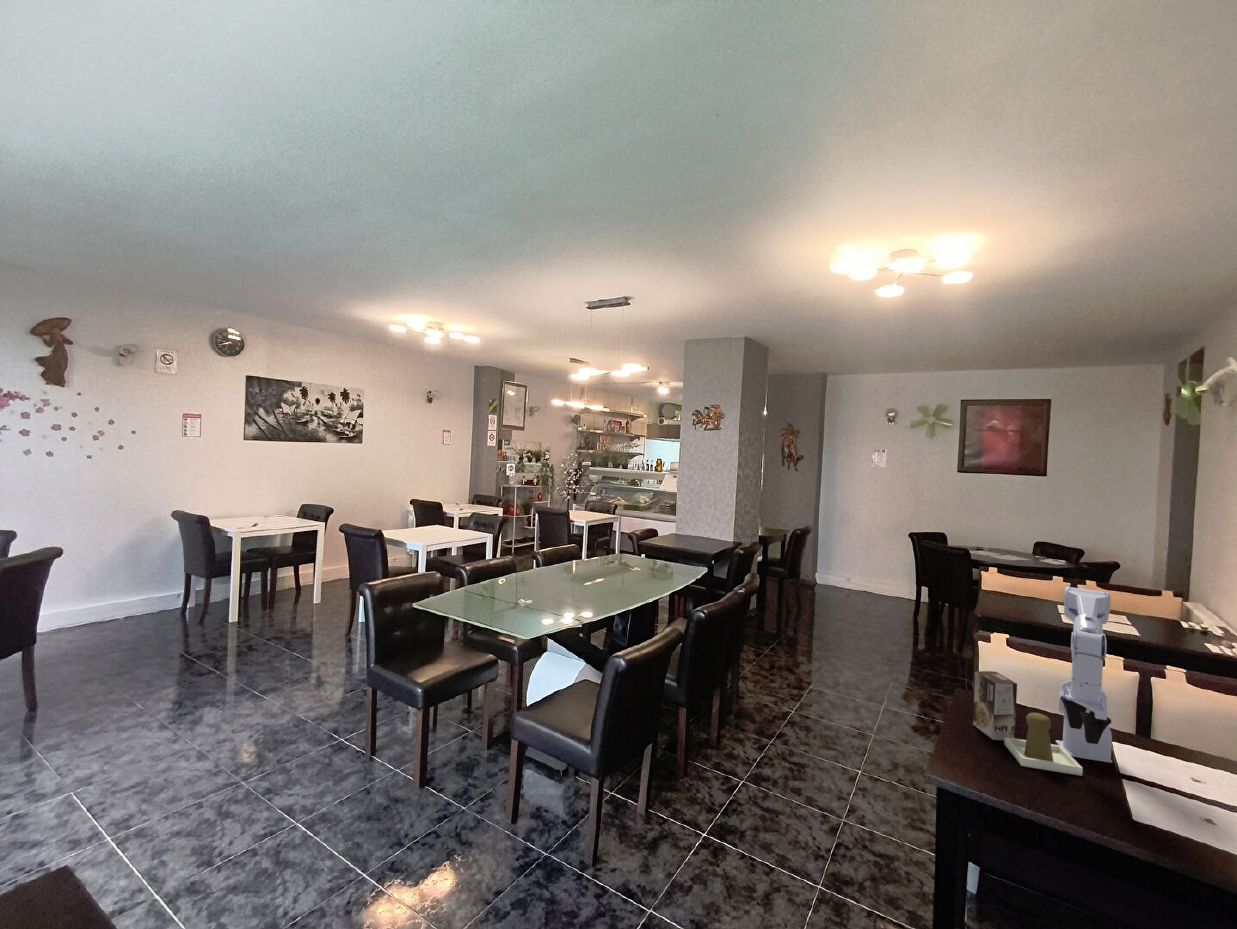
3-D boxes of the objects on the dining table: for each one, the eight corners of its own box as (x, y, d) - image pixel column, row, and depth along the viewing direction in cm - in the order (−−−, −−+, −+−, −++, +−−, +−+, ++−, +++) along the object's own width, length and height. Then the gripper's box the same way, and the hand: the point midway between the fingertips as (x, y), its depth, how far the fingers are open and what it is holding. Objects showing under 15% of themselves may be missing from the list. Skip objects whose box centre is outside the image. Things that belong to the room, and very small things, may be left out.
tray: (1060, 752, 147) (1060, 745, 147) (1082, 775, 136) (1082, 767, 136) (1004, 744, 150) (1004, 736, 150) (1021, 765, 140) (1021, 758, 140)
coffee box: (1015, 741, 152) (1018, 683, 152) (992, 740, 152) (995, 682, 152) (993, 725, 161) (996, 670, 161) (971, 724, 161) (974, 669, 161)
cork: (1059, 763, 139) (1059, 720, 139) (1033, 762, 140) (1033, 719, 140) (1043, 751, 145) (1043, 710, 145) (1019, 750, 146) (1019, 709, 146)
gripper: (1052, 667, 143) (1050, 719, 143) (1082, 690, 129) (1079, 747, 129) (1085, 671, 141) (1082, 723, 141) (1119, 694, 127) (1115, 752, 128)
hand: (1083, 735), depth 135 cm, fingers open, 7 cm apart
